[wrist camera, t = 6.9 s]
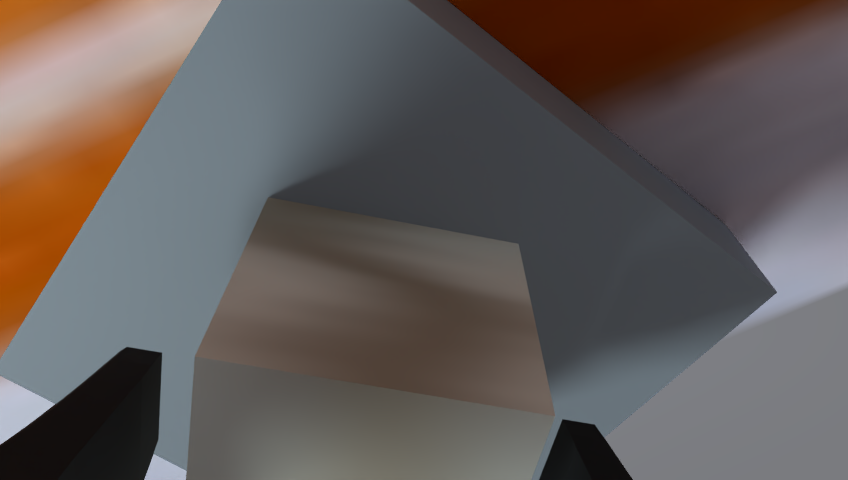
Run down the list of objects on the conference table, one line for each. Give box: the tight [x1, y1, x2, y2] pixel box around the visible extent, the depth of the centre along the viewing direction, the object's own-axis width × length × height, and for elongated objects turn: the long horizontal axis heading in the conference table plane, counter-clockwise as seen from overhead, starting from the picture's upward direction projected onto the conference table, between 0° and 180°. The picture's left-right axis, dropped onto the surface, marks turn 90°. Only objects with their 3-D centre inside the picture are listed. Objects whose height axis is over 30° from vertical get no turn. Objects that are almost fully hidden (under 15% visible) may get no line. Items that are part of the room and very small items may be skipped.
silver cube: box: [186, 197, 555, 480], centre depth 13 cm, size 5×5×5 cm
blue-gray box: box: [0, 0, 777, 480], centre depth 17 cm, size 12×12×3 cm
